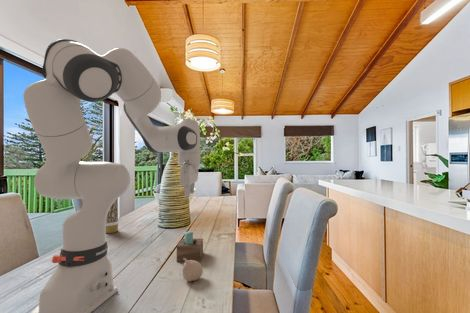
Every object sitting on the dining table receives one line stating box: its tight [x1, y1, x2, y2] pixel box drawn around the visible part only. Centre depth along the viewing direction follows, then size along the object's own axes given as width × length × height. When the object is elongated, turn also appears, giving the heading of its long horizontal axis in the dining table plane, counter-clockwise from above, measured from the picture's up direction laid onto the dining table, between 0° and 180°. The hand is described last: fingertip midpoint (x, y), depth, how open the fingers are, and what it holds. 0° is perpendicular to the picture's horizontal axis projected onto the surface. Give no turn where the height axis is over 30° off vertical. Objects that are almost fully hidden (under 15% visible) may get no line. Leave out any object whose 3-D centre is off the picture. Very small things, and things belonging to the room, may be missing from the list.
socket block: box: [176, 238, 204, 263], centre depth 103 cm, size 9×9×6 cm
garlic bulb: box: [182, 258, 204, 282], centre depth 84 cm, size 7×6×8 cm
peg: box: [184, 230, 194, 244], centre depth 103 cm, size 3×3×10 cm
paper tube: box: [106, 198, 119, 234], centre depth 139 cm, size 7×7×25 cm
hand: (189, 194), depth 103 cm, fingers open, 8 cm apart
